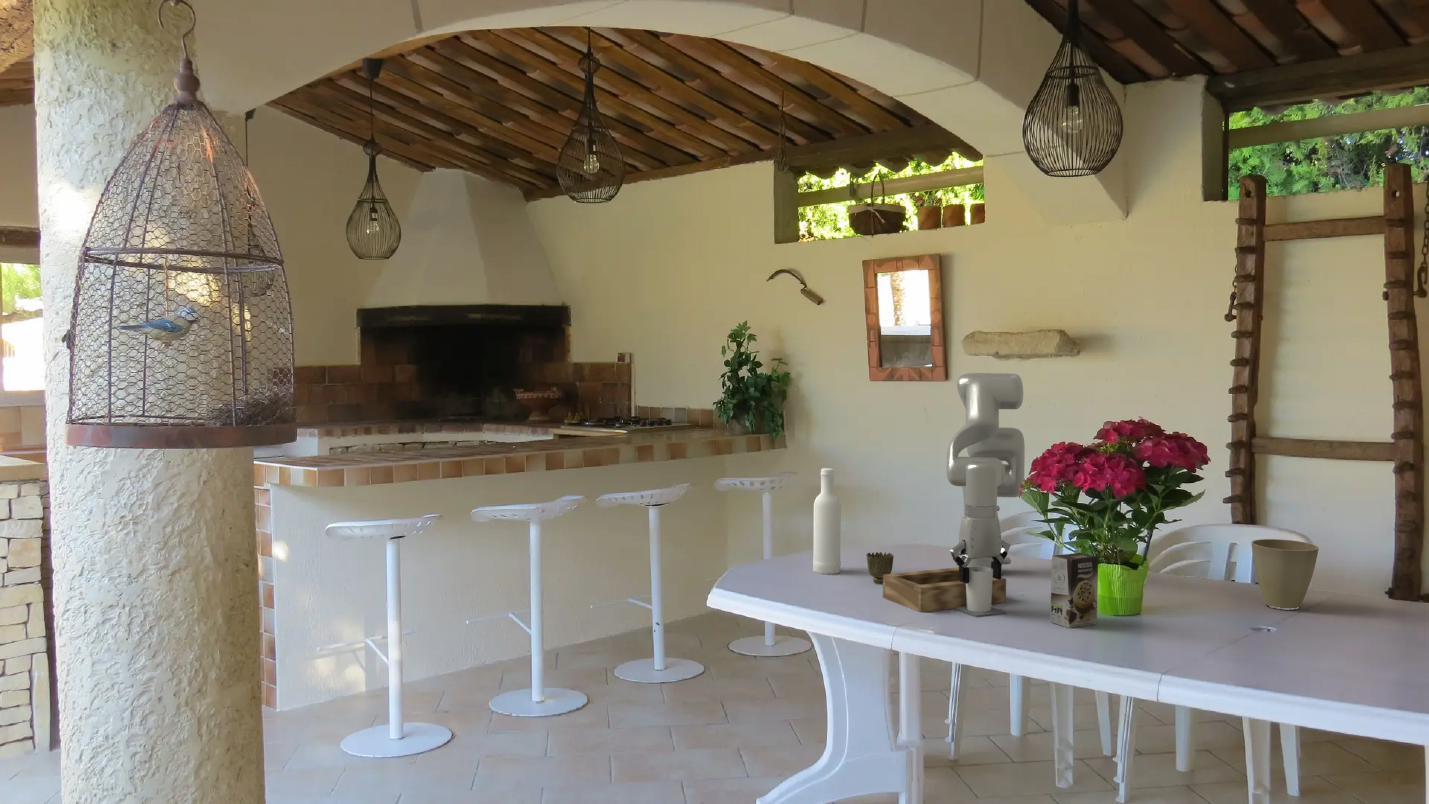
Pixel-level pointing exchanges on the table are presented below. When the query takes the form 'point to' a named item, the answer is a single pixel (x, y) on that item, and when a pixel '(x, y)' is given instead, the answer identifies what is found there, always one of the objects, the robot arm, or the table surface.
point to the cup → (879, 565)
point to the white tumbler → (979, 589)
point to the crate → (933, 589)
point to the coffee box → (1074, 590)
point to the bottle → (827, 527)
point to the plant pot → (1284, 570)
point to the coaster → (978, 614)
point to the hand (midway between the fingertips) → (980, 580)
